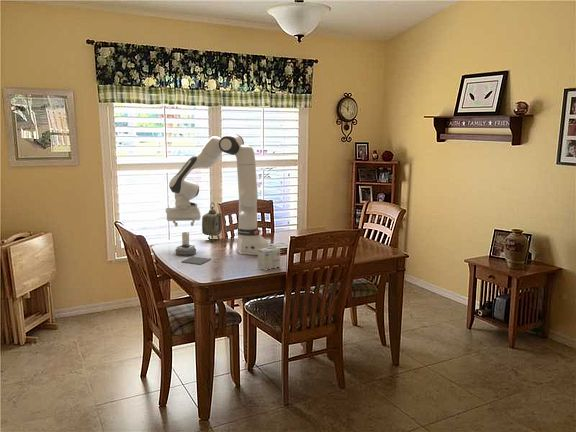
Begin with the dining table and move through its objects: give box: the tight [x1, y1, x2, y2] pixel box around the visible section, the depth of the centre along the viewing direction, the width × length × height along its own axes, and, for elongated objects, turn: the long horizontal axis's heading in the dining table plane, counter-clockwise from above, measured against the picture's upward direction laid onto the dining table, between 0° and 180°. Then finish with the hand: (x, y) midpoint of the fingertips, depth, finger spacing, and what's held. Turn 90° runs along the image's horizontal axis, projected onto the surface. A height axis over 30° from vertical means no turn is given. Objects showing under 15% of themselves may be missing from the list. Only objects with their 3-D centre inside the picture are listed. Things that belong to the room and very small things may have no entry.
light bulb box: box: [257, 246, 281, 271], centre depth 274 cm, size 11×7×11 cm, turn 129°
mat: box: [181, 255, 212, 266], centre depth 285 cm, size 12×12×1 cm
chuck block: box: [174, 244, 197, 257], centre depth 300 cm, size 12×12×4 cm
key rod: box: [181, 231, 190, 248], centre depth 299 cm, size 4×4×10 cm
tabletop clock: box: [201, 201, 223, 242], centre depth 337 cm, size 14×9×25 cm, turn 168°
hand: (184, 225), depth 306 cm, fingers open, 8 cm apart
